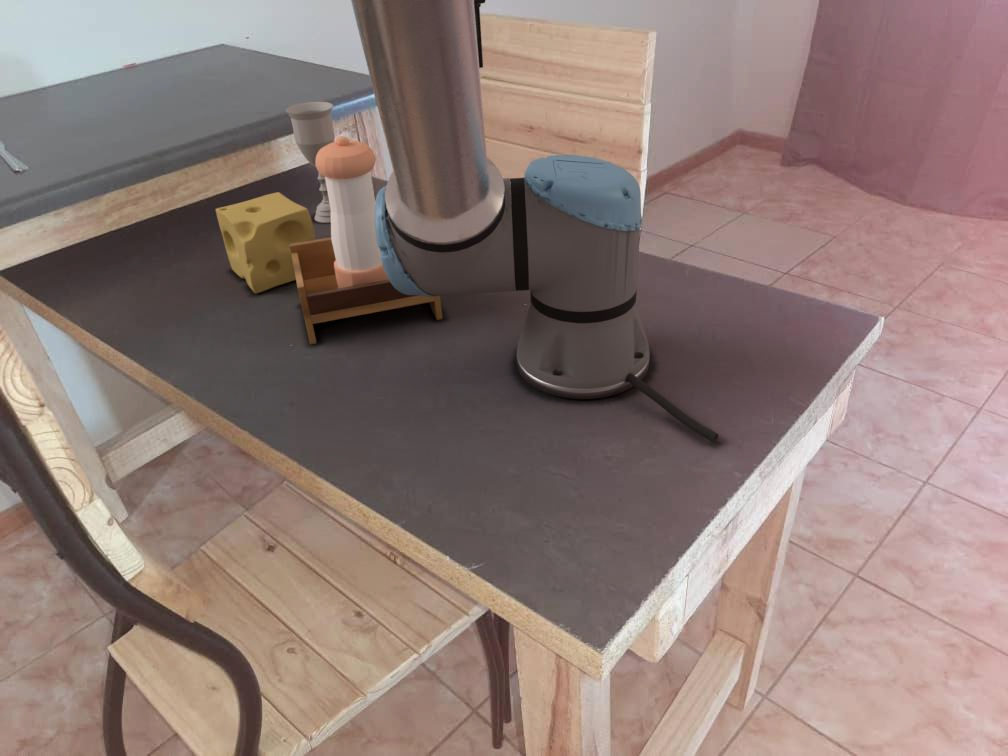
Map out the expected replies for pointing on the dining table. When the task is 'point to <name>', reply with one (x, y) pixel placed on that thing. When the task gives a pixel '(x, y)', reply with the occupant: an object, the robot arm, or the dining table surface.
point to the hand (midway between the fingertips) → (455, 57)
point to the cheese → (264, 238)
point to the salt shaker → (351, 211)
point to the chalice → (314, 141)
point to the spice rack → (342, 289)
